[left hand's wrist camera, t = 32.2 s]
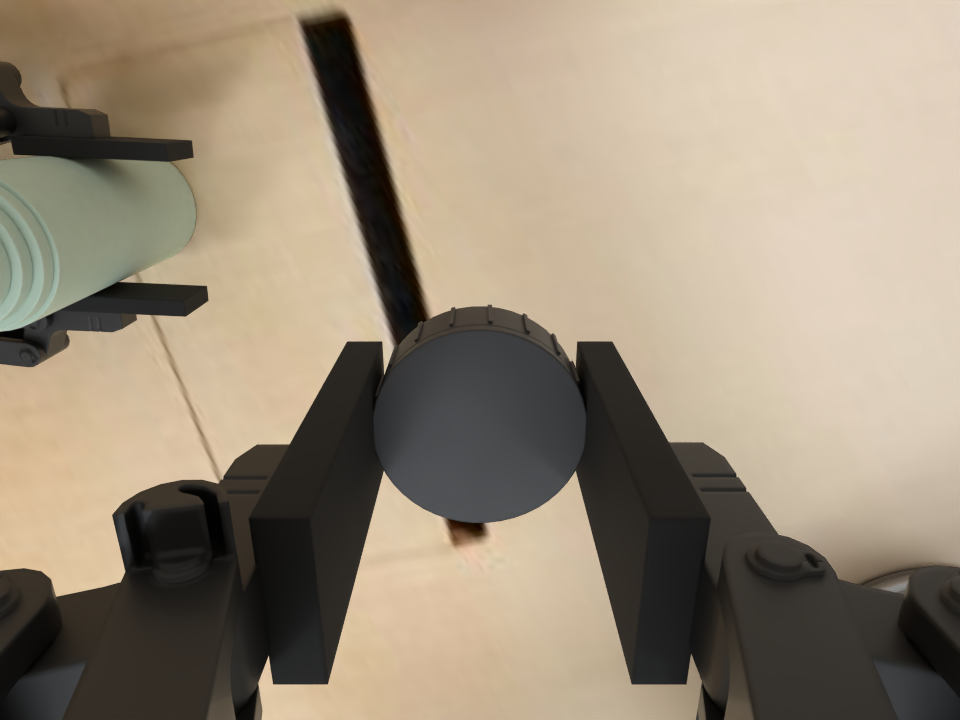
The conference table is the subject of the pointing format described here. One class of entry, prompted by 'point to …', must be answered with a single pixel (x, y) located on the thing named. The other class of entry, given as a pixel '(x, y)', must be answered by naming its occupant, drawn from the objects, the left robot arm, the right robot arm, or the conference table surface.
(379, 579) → the conference table surface
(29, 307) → the bottle
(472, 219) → the conference table surface
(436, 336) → the cap
